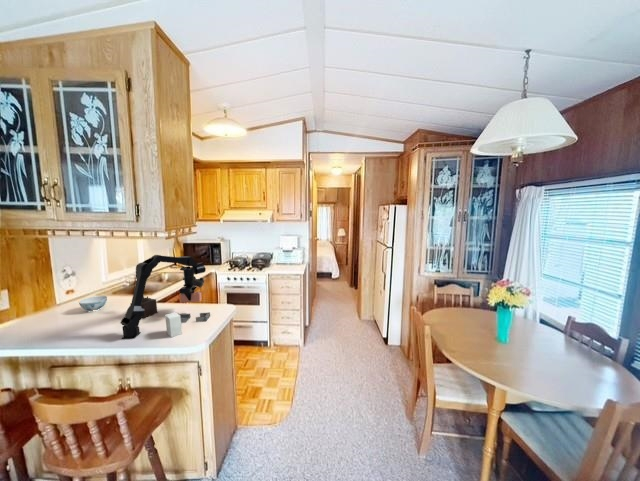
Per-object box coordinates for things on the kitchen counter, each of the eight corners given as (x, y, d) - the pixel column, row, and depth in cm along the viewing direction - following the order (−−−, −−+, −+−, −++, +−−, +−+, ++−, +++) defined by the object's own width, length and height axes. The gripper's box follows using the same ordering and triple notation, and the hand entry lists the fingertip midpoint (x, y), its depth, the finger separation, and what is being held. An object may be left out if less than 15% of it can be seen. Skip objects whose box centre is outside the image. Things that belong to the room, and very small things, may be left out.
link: (180, 302, 172) (179, 293, 171) (182, 300, 175) (181, 292, 175) (199, 301, 173) (199, 292, 172) (201, 299, 177) (201, 291, 176)
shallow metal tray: (175, 323, 162) (174, 319, 162) (180, 317, 170) (180, 314, 169) (206, 321, 164) (206, 317, 163) (210, 316, 171) (210, 312, 171)
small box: (182, 334, 148) (180, 315, 146) (171, 337, 144) (169, 318, 143) (177, 329, 153) (176, 311, 152) (166, 332, 150) (164, 314, 148)
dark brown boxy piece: (158, 312, 180) (156, 286, 178) (143, 318, 169) (140, 291, 167) (141, 310, 185) (138, 284, 182) (125, 316, 174) (122, 289, 172)
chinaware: (101, 305, 196) (100, 294, 195) (112, 308, 190) (111, 297, 189) (75, 312, 183) (74, 301, 182) (87, 315, 176) (85, 304, 175)
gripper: (196, 279, 164) (199, 303, 166) (206, 271, 182) (208, 294, 184) (177, 280, 163) (180, 305, 165) (189, 272, 181) (191, 295, 183)
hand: (191, 299), depth 174 cm, fingers closed on link, 3 cm apart
